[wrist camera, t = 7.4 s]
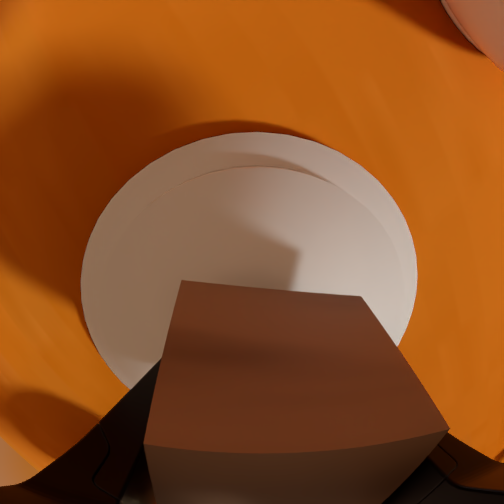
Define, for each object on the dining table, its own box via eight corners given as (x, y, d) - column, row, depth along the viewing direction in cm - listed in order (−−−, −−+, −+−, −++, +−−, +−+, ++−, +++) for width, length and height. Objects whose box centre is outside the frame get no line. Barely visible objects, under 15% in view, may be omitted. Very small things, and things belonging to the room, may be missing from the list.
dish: (445, 174, 10) (465, 180, 9) (354, 418, 15) (360, 435, 14) (87, 118, 9) (70, 117, 8) (105, 404, 13) (99, 422, 12)
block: (317, 412, 11) (350, 529, 6) (178, 406, 10) (165, 536, 5) (361, 296, 9) (449, 428, 4) (181, 279, 8) (143, 443, 4)
